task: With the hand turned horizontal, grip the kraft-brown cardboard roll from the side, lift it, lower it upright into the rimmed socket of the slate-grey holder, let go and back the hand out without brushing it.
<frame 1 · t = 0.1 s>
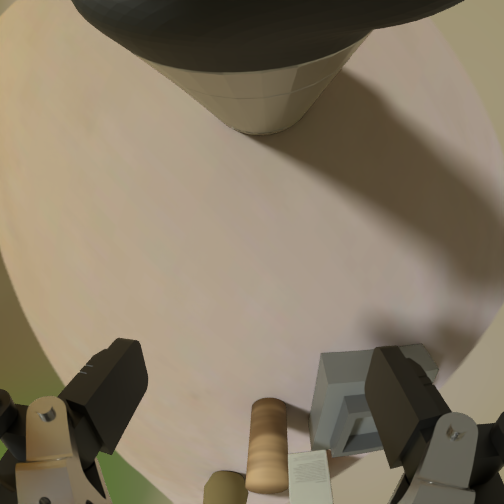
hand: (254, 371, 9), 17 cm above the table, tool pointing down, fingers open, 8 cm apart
squeeze bottle: (228, 475, 40), on the table
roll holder: (363, 388, 30), on the table
cardboard roll: (268, 408, 32), on the table
small box: (307, 460, 37), on the table
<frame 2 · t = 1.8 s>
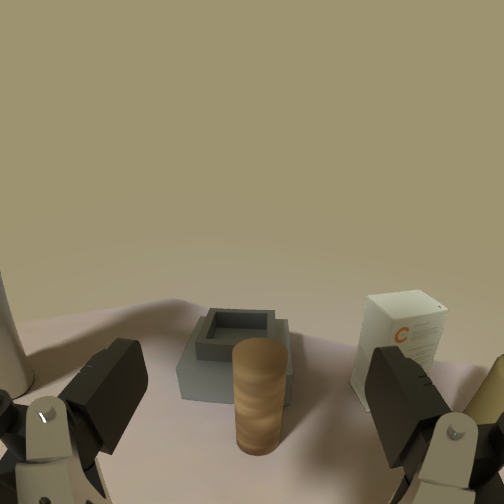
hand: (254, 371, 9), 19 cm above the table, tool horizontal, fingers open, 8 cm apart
squeeze bottle: (467, 455, 16), on the table
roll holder: (239, 371, 36), on the table
cardboard roll: (257, 440, 24), on the table
small box: (383, 392, 30), on the table
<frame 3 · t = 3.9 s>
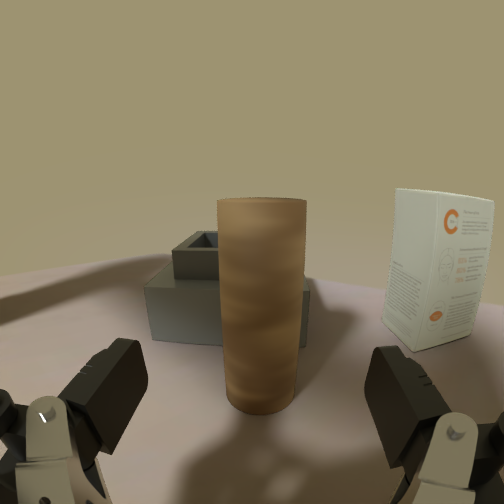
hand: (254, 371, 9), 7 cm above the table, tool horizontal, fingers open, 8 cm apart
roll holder: (234, 311, 29), on the table
cardboard roll: (260, 391, 17), on the table
small box: (425, 331, 23), on the table
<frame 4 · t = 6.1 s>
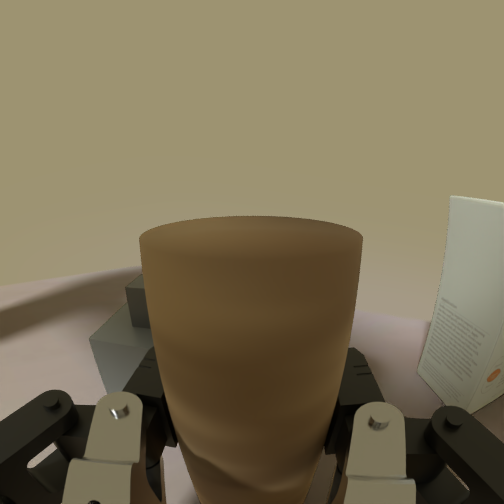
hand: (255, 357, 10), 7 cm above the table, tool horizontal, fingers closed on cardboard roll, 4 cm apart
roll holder: (222, 358, 20), on the table
cardboard roll: (252, 502, 9), on the table, touching gripper
small box: (469, 382, 15), on the table
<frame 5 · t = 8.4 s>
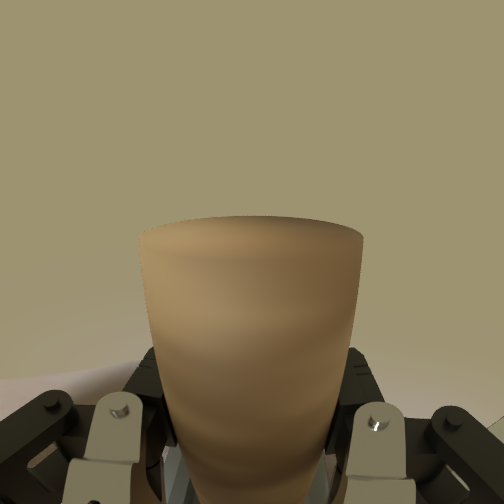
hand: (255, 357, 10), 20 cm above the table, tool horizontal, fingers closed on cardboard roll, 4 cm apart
cardboard roll: (252, 503, 9), point 13 cm above the table, touching gripper
when the fingers open (13 cm above the table, at t = 10.7 s): cardboard roll drops 1 cm, resting on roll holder.
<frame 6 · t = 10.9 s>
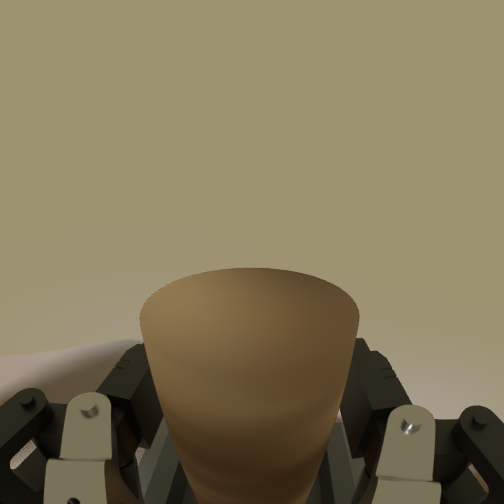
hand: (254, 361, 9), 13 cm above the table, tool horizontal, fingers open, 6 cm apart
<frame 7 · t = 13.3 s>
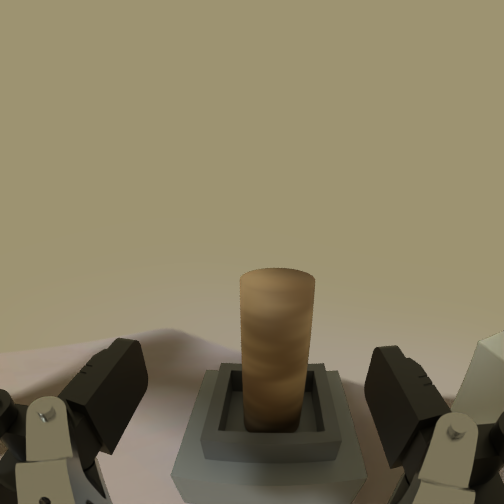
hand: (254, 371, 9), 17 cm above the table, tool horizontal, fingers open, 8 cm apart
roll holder: (269, 452, 21), on the table
cardboard roll: (271, 420, 19), point 5 cm above the table, touching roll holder
small box: (465, 457, 14), on the table
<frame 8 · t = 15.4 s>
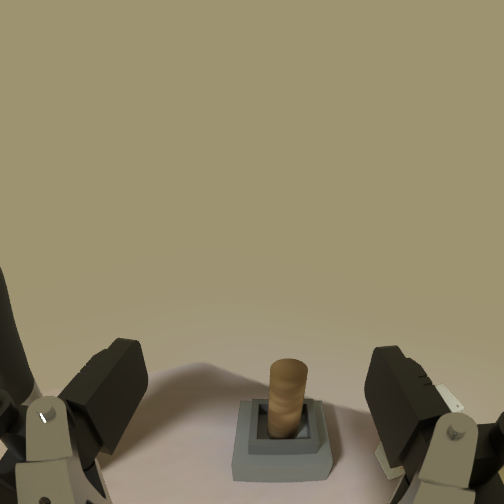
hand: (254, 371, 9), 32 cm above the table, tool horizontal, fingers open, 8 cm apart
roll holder: (280, 449, 35), on the table
cardboard roll: (282, 431, 34), point 5 cm above the table, touching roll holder
small box: (401, 459, 29), on the table
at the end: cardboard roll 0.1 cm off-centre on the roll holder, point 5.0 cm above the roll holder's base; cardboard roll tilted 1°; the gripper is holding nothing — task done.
